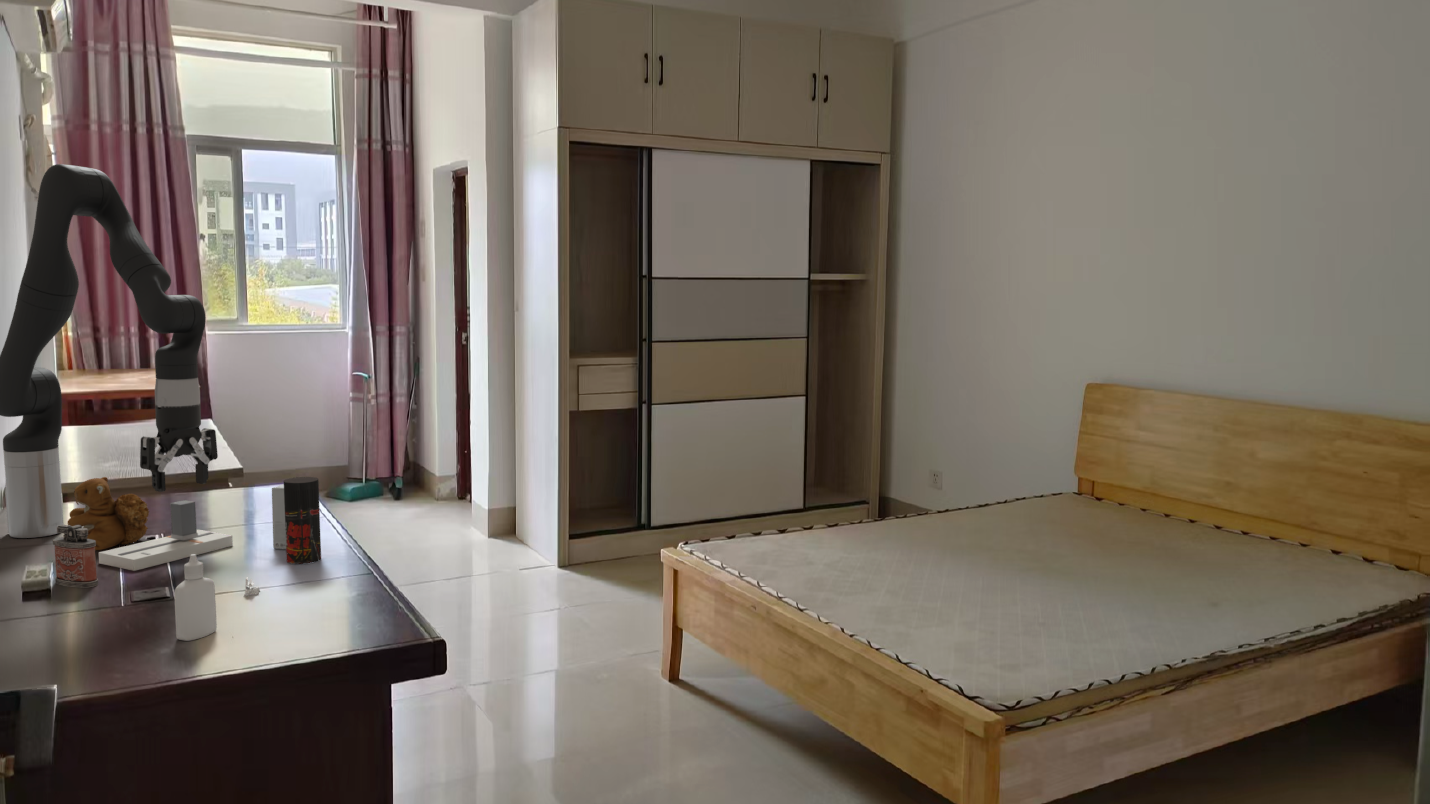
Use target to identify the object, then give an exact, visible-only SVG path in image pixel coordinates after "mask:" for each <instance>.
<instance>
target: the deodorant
mask: <svg viewBox="0 0 1430 804" xmlns="http://www.w3.org/2000/svg"><path fill="white" fill-rule="evenodd" d="M283 484H284V505H285V531H286V549H285V555H286V563H287V564H290V565H306V564H307V565H308V564H313V563H317V562H319V561H321V560H322V547H321V546H322V545H321V544H322V543H321V542H322V541H321V540H322V539H321V518H320V516H321V515H320V513H321V512H320V487H319V486H320V485H319V484H320V482H319V478H318V477H314V476H298V477H297V476H296V477H290V478H286V479H284V480H283Z"/></svg>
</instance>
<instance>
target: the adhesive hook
mask: <svg viewBox="0 0 1430 804" xmlns="http://www.w3.org/2000/svg"><path fill="white" fill-rule="evenodd" d="M244 590H245V591H244V594H243V597H248V596H250V595H251V596H252V595H259V594H260V592H261V590H260V588H259V586H255V583H254V582H253V579H252V578H251V579H250V580H249V577H248V576H247V577H245V589H244Z"/></svg>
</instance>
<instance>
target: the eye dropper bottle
mask: <svg viewBox="0 0 1430 804" xmlns="http://www.w3.org/2000/svg"><path fill="white" fill-rule="evenodd" d="M183 571H184V580H182V581H181V582H180V583H179V584H178V585H177V586H176V587H175V589H174V595H173V596H174V614H175V615H174V617H175V620H174V621H175V635H176V636H175V637H176V639H177V640H179V641H185V642H190V641H195V640H199V639H201V638H205V637H207V636H210V635H212V634H213V633H214V632H216V631H217V628H218V627H217V625H218V624H217V605H216V604H217V603H216V588H215V587H216V586H215V581H214V579H212V578H209V577H204V563H203V561H199V560H198V557H197V555H196V554H191V555H190V557H189V561H188V562H186V563H184V567H183Z"/></svg>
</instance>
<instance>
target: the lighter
mask: <svg viewBox="0 0 1430 804" xmlns="http://www.w3.org/2000/svg"><path fill="white" fill-rule="evenodd" d="M57 534H63V536H61V537H57V538H54V539H52V545H54V558H55V571H56V572H55V573H56V577H55V578H54V579H55V580H54V582H55V584H57V585H60V586H64V587H71V588H82V589H84V588H91V587H92V588H93V587H96V586H98V585H99V578H97V562H96V560H97V559H96V551H95V546H96V541H95V540H91V539H87V537H88V529H87V528H83V526H81V525H75V526H70V525H68V524H64V525H58V527H57Z"/></svg>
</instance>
